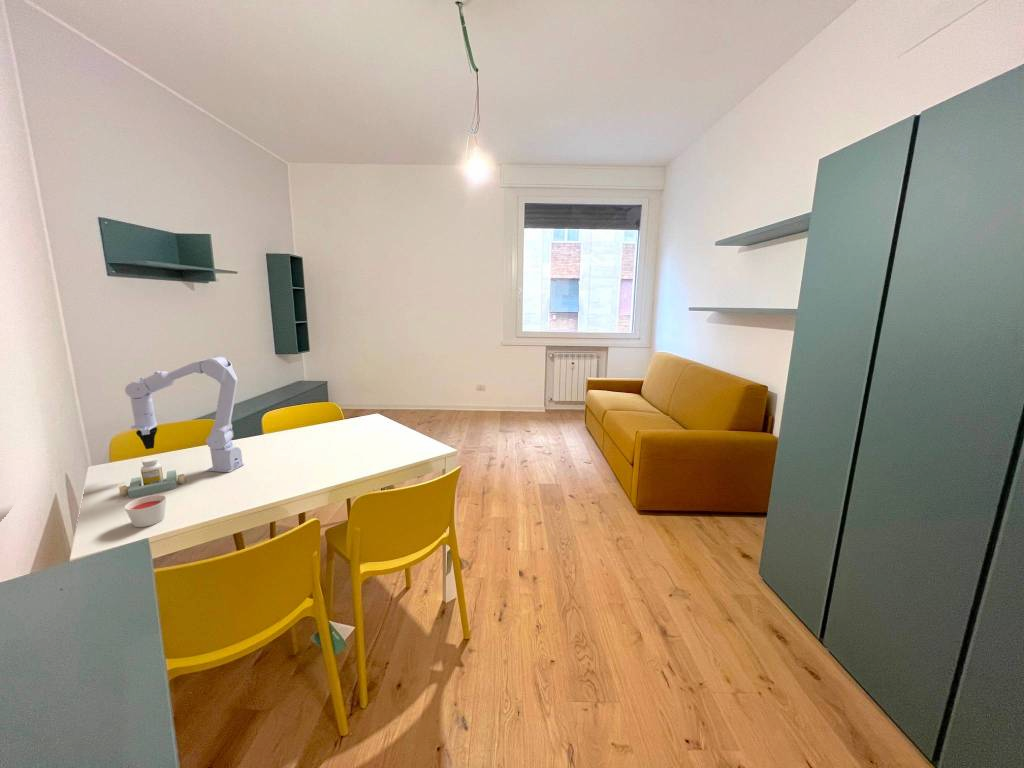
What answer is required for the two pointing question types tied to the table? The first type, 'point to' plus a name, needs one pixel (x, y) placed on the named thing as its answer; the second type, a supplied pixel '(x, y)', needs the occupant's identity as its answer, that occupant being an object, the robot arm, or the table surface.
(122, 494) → the slot block
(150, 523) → the candle
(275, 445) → the table surface
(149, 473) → the supplement bottle
